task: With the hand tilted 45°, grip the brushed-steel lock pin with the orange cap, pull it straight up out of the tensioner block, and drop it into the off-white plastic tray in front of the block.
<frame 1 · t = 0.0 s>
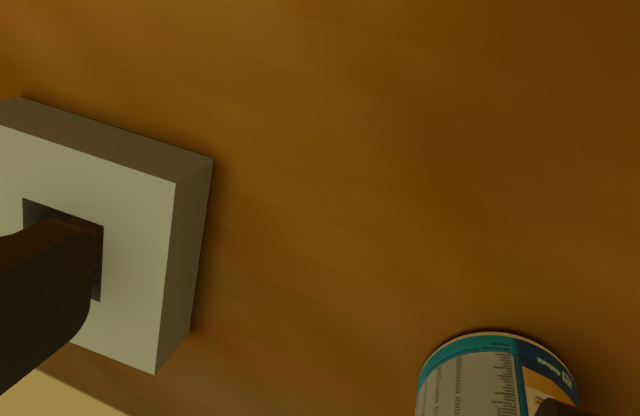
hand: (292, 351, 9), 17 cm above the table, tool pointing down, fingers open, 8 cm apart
tensioner block: (109, 221, 31), on the table
lock pin: (8, 285, 24), in the tensioner block
beverage bottle: (494, 386, 29), on the table
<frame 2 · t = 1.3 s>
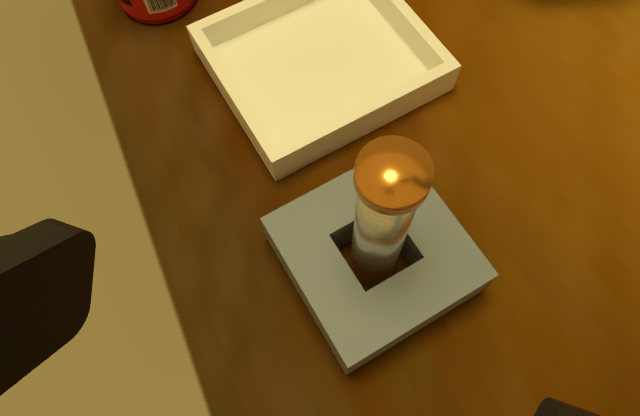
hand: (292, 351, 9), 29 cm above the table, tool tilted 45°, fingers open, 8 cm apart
tensioner block: (371, 263, 40), on the table
lock pin: (380, 226, 33), in the tensioner block
pin tray: (320, 69, 47), on the table
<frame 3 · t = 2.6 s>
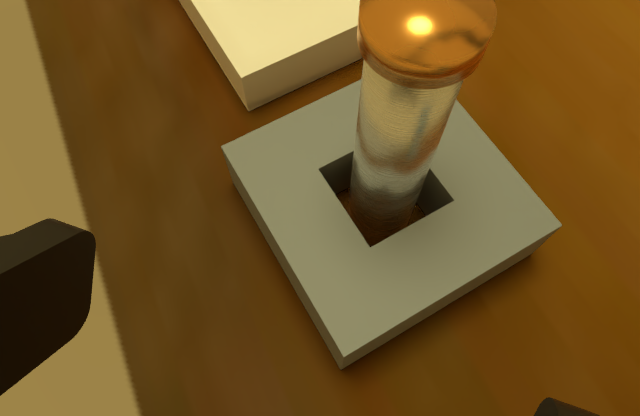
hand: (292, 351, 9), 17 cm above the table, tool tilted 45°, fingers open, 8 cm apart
tensioner block: (377, 217, 29), on the table
lock pin: (394, 145, 22), in the tensioner block
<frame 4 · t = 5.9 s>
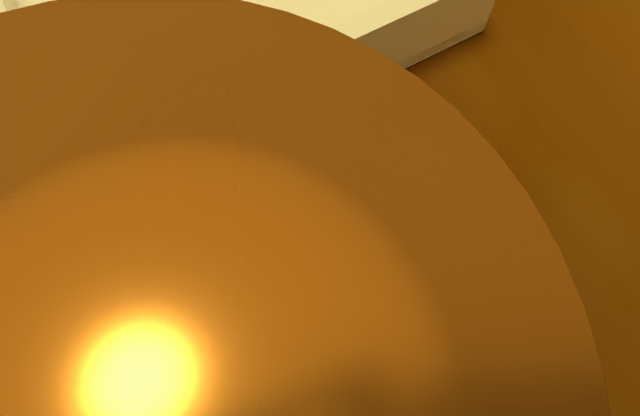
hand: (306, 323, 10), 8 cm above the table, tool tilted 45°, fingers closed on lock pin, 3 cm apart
when the fingers open (10 cm above the table, at t = 12.9 s): lock pin drops 2 cm, resting on pin tray.
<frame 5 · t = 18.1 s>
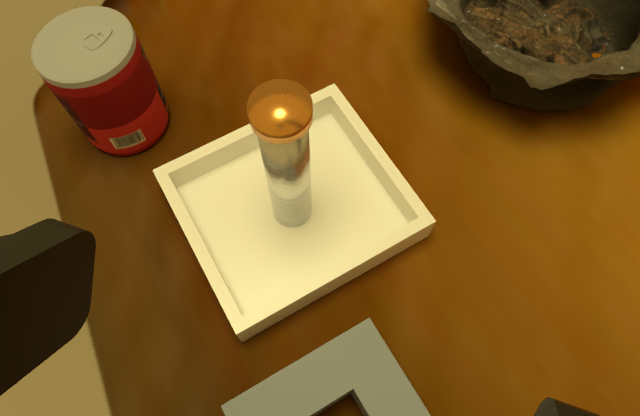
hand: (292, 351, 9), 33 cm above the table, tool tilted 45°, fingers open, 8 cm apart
lock pin: (287, 166, 38), in the pin tray, point 8 cm above the table
pin tray: (292, 211, 46), on the table
stone bowl: (529, 39, 54), on the table
canned food: (131, 124, 50), on the table
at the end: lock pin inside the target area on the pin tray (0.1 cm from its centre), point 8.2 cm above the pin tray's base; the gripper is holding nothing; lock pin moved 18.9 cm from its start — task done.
